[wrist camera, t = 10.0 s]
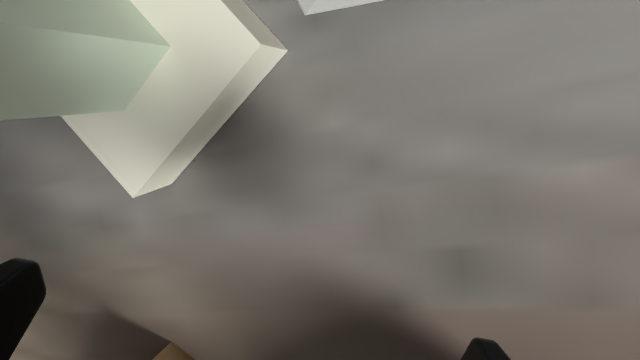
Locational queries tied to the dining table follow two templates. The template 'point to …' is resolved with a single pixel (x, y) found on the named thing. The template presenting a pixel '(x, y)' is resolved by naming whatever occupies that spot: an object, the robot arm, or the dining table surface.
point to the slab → (182, 90)
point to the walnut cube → (172, 353)
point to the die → (328, 5)
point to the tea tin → (73, 56)
